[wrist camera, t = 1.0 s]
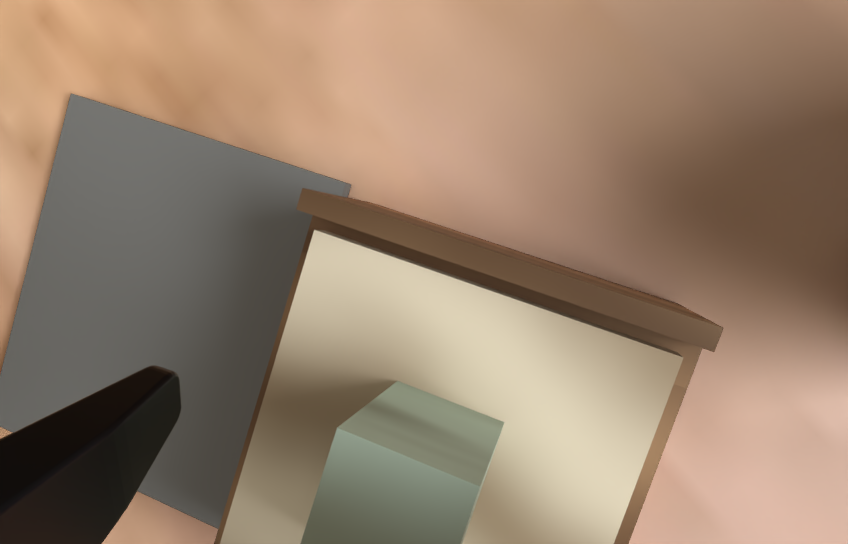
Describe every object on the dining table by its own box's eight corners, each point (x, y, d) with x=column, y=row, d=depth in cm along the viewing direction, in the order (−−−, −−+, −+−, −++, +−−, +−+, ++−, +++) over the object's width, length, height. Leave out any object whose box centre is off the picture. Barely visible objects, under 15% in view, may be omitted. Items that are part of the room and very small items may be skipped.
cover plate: (534, 735, 17) (519, 943, 12) (218, 581, 19) (90, 703, 14) (677, 352, 16) (728, 402, 11) (325, 230, 18) (227, 223, 13)
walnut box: (547, 659, 22) (538, 814, 16) (270, 532, 24) (172, 626, 18) (679, 304, 21) (723, 328, 15) (373, 203, 23) (302, 187, 17)
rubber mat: (245, 531, 25) (238, 538, 24) (1, 417, 27) (-12, 421, 26) (351, 184, 23) (345, 182, 23) (82, 97, 26) (71, 93, 25)
